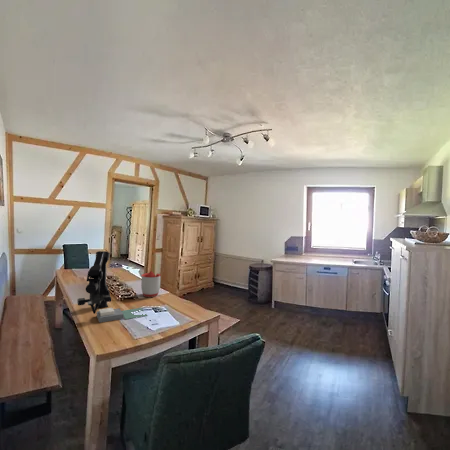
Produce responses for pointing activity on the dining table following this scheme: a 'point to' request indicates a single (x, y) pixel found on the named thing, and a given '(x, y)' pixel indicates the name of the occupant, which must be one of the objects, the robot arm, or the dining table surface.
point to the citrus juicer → (150, 284)
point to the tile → (106, 311)
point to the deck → (110, 316)
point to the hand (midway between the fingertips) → (94, 313)
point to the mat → (129, 315)
